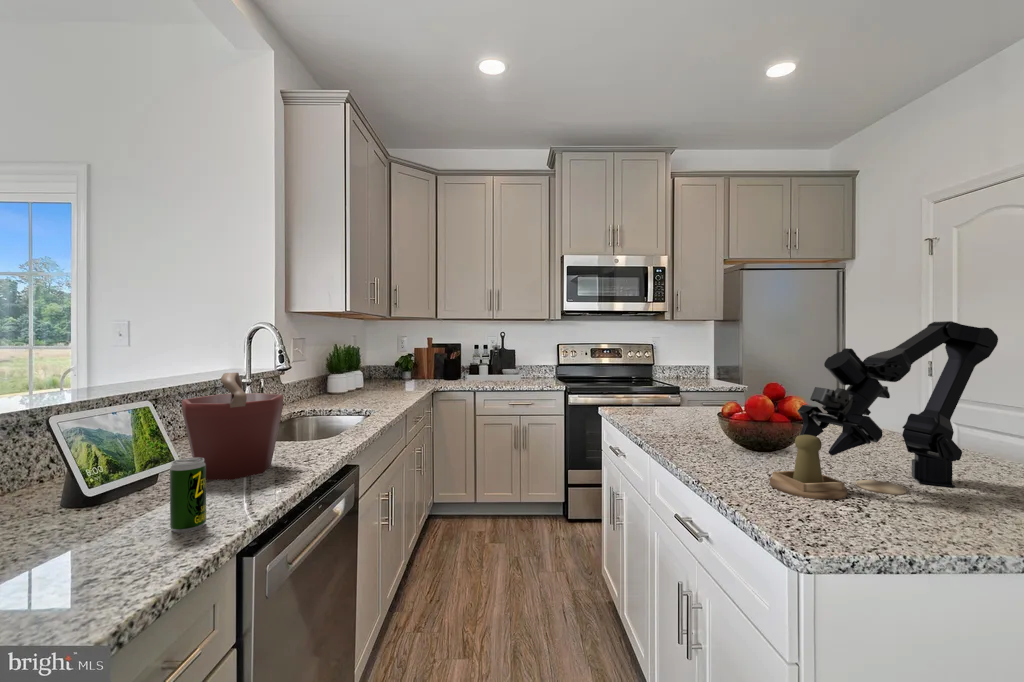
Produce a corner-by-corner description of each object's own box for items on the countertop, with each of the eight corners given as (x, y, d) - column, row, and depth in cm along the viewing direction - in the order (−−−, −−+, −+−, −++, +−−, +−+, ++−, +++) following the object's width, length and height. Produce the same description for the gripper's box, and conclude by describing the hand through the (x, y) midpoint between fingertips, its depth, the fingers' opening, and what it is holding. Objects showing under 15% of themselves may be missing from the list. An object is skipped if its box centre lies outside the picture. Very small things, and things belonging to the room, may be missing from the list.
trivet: (811, 477, 118) (811, 466, 118) (865, 497, 103) (865, 485, 103) (755, 479, 116) (755, 469, 116) (801, 501, 101) (801, 488, 101)
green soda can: (164, 535, 83) (164, 465, 83) (178, 523, 88) (178, 457, 88) (199, 532, 84) (198, 463, 84) (211, 520, 90) (210, 456, 90)
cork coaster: (900, 485, 112) (900, 483, 112) (911, 496, 104) (911, 494, 104) (853, 480, 116) (853, 477, 116) (860, 490, 108) (860, 488, 108)
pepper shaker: (821, 489, 105) (821, 439, 105) (789, 484, 109) (790, 435, 109) (825, 483, 110) (825, 435, 110) (794, 478, 114) (795, 431, 114)
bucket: (265, 482, 113) (265, 376, 113) (158, 489, 108) (157, 377, 108) (288, 457, 137) (288, 369, 136) (201, 461, 132) (201, 370, 131)
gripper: (804, 372, 119) (763, 418, 118) (870, 378, 101) (823, 433, 99) (833, 402, 121) (793, 448, 119) (903, 414, 102) (857, 469, 101)
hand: (814, 449), depth 110 cm, fingers open, 9 cm apart
